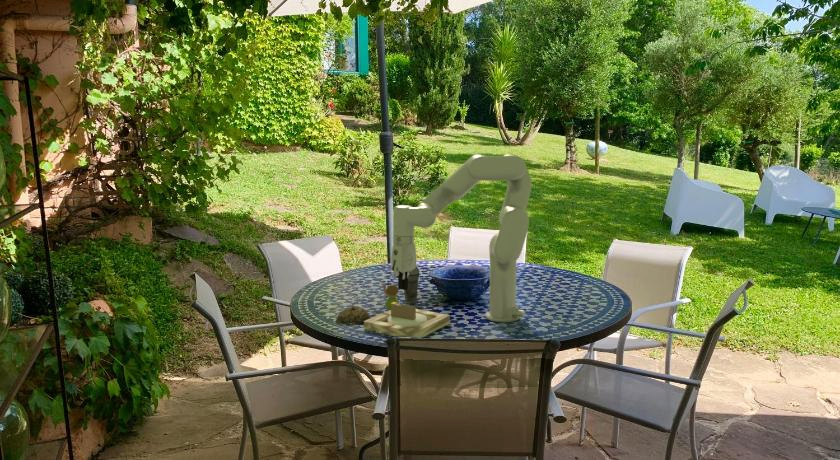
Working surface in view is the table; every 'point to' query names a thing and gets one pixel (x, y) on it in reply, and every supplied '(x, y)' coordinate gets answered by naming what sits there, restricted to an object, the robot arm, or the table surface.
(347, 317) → the bread roll
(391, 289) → the toy figurine
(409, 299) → the beverage cup
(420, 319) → the dial
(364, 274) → the table surface
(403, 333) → the tray
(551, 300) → the table surface
